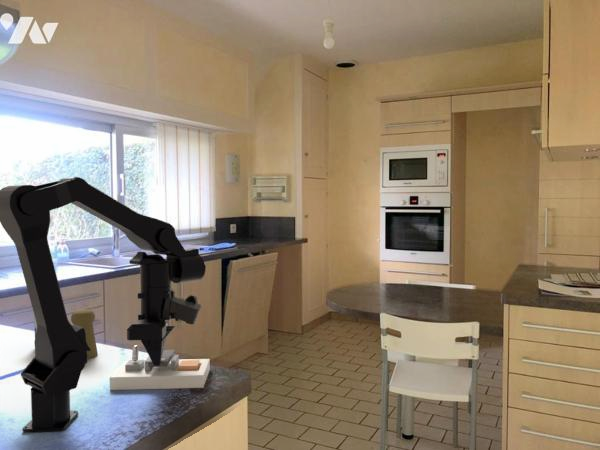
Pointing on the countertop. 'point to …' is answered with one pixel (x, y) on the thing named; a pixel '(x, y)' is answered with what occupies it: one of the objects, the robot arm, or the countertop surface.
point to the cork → (86, 328)
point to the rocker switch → (164, 358)
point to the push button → (189, 365)
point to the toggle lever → (135, 353)
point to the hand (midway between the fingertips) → (157, 365)
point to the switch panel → (158, 375)
